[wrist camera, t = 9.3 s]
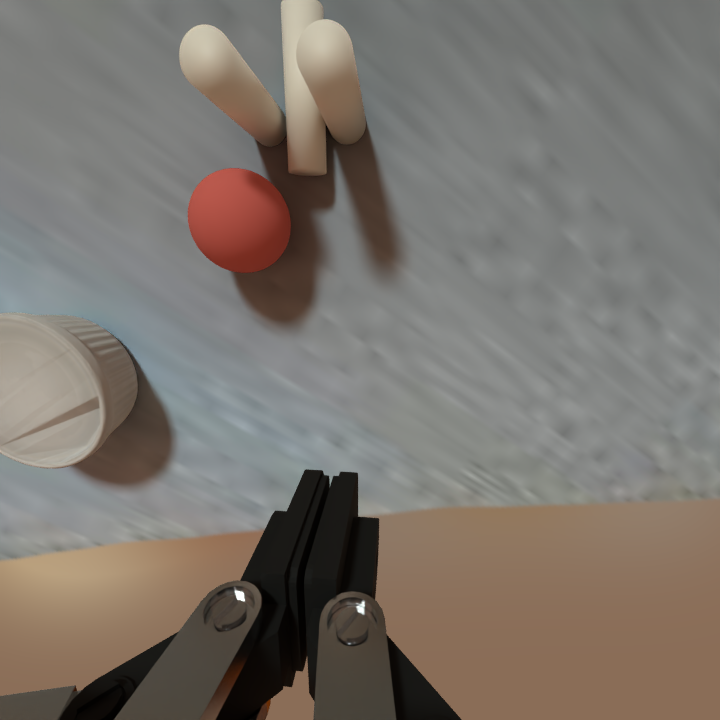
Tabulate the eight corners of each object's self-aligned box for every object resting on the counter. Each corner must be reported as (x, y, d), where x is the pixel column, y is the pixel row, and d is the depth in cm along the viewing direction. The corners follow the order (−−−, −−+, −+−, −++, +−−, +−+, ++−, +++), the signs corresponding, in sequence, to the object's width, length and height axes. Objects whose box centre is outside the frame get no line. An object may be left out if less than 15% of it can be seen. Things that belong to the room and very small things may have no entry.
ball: (189, 176, 18) (270, 278, 20) (265, 132, 21) (325, 225, 24) (150, 220, 22) (221, 300, 25) (218, 177, 25) (274, 252, 28)
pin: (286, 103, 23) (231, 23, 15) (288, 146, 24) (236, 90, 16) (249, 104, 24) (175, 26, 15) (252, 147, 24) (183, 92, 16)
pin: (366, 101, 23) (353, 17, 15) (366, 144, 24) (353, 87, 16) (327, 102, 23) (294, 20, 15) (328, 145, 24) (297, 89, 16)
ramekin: (123, 458, 32) (73, 496, 27) (4, 390, 31) (-71, 417, 26) (174, 355, 29) (129, 376, 24) (44, 276, 28) (-32, 281, 23)
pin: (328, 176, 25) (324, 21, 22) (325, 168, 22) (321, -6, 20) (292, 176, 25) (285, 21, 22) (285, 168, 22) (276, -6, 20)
